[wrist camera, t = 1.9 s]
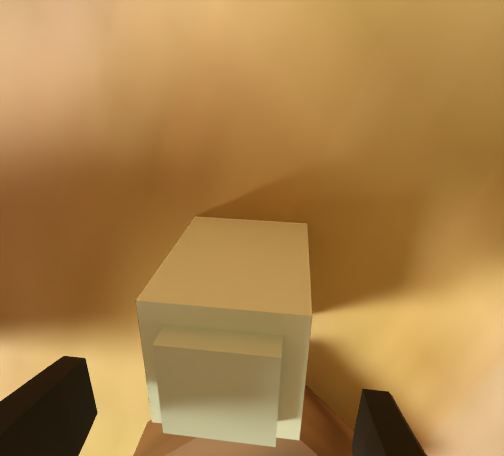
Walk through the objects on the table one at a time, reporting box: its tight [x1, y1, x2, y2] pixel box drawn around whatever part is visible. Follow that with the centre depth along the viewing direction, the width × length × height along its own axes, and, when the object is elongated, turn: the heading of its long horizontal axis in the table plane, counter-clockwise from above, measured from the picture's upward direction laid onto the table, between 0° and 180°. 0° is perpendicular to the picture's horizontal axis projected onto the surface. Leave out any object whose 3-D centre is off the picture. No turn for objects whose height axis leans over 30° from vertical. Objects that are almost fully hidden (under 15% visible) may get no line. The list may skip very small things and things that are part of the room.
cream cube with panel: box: [136, 216, 312, 447], centre depth 13 cm, size 5×5×7 cm
